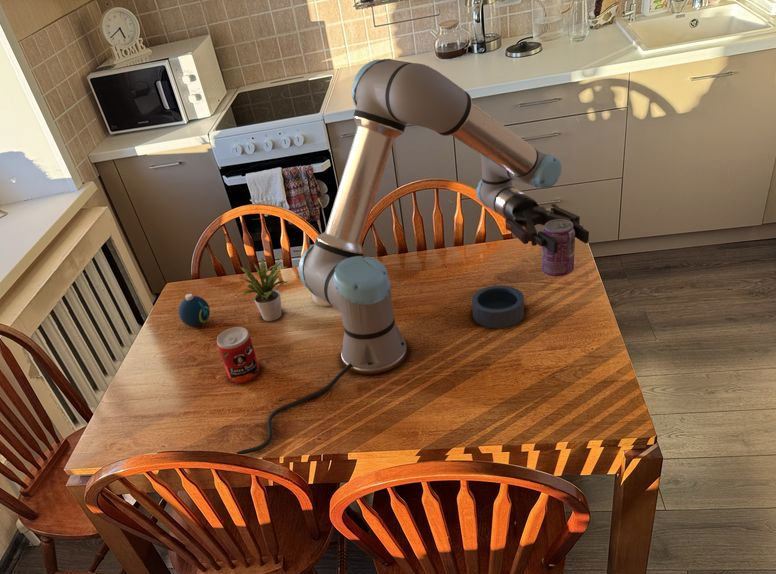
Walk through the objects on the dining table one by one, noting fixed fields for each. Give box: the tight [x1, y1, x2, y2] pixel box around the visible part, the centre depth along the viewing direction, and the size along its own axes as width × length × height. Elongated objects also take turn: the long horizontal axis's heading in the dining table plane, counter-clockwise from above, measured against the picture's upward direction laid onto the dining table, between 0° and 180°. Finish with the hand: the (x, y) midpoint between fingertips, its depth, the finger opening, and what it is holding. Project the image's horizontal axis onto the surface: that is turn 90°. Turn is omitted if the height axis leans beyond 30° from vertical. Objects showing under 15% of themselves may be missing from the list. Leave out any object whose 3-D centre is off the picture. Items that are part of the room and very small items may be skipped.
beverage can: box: [541, 219, 576, 278], centre depth 149 cm, size 7×7×12 cm
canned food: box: [216, 326, 260, 384], centre depth 152 cm, size 8×8×11 cm
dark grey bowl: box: [471, 284, 525, 329], centre depth 154 cm, size 12×12×4 cm
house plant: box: [239, 257, 289, 322], centre depth 169 cm, size 14×14×16 cm
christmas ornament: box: [178, 293, 211, 328], centre depth 175 cm, size 8×8×10 cm
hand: (571, 242), depth 143 cm, fingers closed on beverage can, 7 cm apart
